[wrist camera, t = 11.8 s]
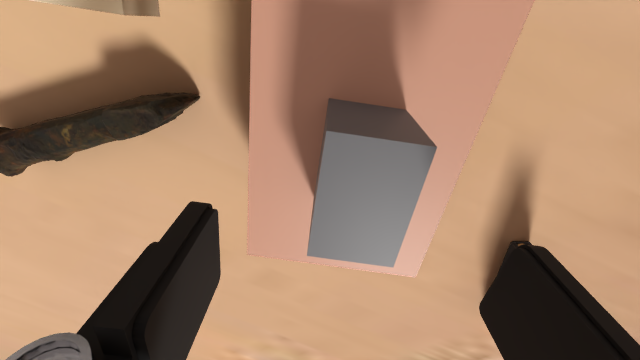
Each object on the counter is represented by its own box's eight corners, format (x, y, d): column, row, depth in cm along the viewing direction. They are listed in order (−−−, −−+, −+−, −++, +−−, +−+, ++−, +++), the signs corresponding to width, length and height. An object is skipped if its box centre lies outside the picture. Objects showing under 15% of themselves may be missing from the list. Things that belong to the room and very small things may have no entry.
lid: (508, -1, 14) (653, -22, 8) (408, 255, 22) (438, 347, 16) (264, -42, 14) (202, -97, 7) (254, 234, 22) (222, 320, 15)
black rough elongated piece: (37, 162, 28) (-12, 186, 24) (8, 124, 26) (-52, 143, 22) (215, 125, 25) (192, 145, 21) (196, 79, 24) (168, 92, 20)
